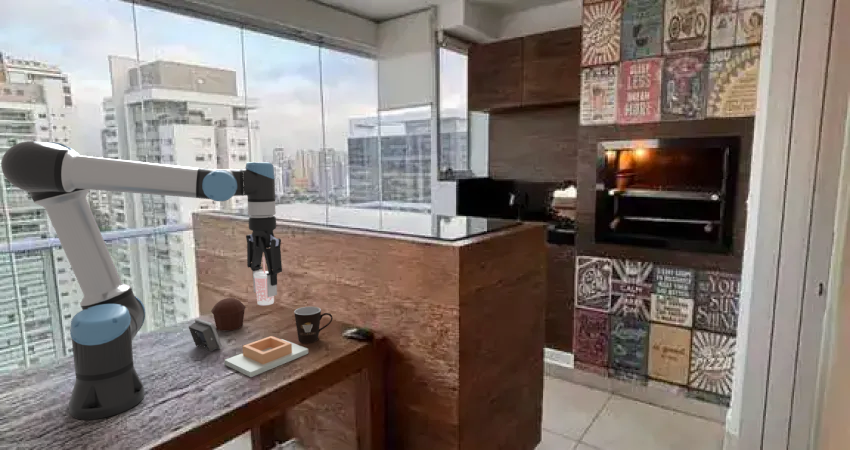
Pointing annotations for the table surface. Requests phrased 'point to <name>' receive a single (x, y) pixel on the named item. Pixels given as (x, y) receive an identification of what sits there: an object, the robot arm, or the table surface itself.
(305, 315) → the coffee mug
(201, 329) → the electrical switch
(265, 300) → the beverage cup
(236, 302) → the muffin
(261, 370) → the cup holder
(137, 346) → the table surface
